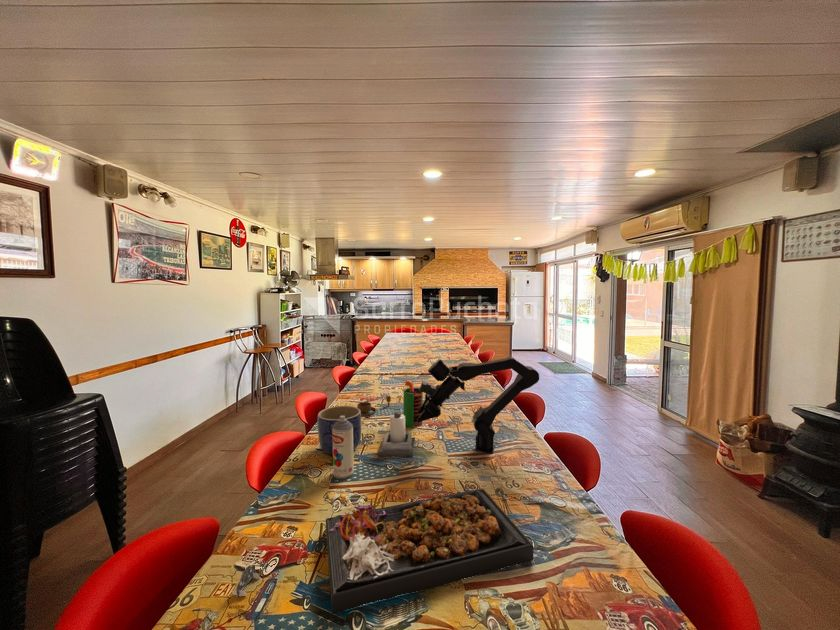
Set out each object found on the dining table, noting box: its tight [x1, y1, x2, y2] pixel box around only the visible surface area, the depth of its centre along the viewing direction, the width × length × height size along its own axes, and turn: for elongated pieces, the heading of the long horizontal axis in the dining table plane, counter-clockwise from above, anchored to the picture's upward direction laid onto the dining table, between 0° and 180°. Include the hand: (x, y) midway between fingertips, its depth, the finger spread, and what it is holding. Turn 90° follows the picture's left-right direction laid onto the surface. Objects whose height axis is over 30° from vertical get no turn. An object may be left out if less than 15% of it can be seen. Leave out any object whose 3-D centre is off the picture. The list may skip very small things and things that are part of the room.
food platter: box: [325, 488, 534, 615], centre depth 87 cm, size 45×25×10 cm, turn 107°
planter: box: [317, 405, 362, 456], centre depth 140 cm, size 16×16×15 cm
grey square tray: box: [378, 432, 416, 457], centre depth 141 cm, size 13×13×4 cm
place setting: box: [356, 395, 392, 419], centre depth 183 cm, size 18×20×6 cm
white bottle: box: [389, 411, 406, 443], centre depth 141 cm, size 6×6×13 cm
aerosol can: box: [332, 416, 355, 480], centre depth 121 cm, size 7×7×20 cm
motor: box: [402, 380, 424, 429], centre depth 166 cm, size 10×9×20 cm
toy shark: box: [231, 558, 277, 598], centre depth 79 cm, size 15×7×4 cm, turn 172°
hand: (418, 417), depth 140 cm, fingers open, 9 cm apart
